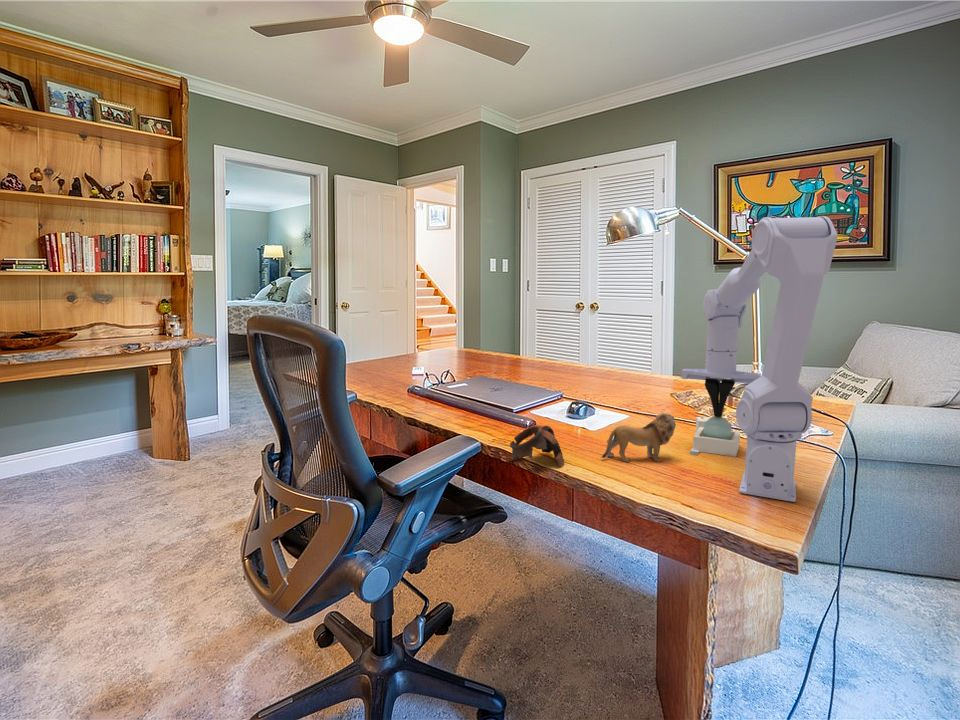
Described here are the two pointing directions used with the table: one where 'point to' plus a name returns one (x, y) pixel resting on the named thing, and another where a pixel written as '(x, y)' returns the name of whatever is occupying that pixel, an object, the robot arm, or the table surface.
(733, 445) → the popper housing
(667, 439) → the lion figurine
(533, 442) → the brown twisted loop
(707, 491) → the table surface
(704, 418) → the die
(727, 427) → the dome plunger
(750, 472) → the robot arm
